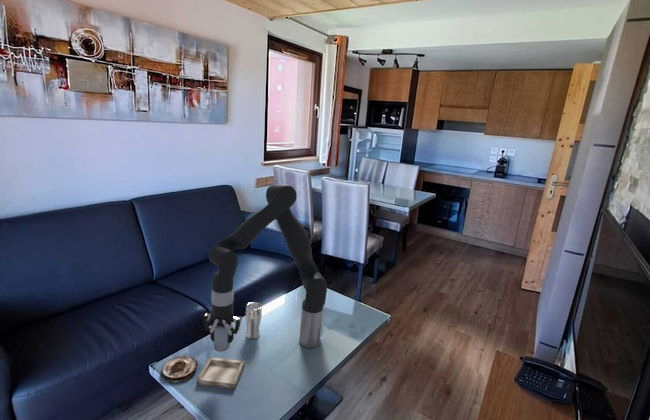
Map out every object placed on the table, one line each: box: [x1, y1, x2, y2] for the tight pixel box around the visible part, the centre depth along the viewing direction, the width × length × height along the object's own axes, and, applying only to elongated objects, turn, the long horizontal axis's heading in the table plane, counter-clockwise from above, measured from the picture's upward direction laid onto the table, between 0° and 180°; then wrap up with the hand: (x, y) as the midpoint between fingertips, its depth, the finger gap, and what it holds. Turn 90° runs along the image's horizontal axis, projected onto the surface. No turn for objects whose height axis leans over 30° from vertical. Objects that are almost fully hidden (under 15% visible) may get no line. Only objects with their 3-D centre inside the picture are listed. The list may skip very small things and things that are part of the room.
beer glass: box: [245, 301, 263, 340], centre depth 150 cm, size 7×7×15 cm
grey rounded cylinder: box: [213, 325, 231, 353], centre depth 122 cm, size 6×6×9 cm
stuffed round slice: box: [161, 355, 198, 382], centre depth 127 cm, size 15×15×4 cm
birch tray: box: [196, 356, 245, 390], centre depth 126 cm, size 14×12×2 cm
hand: (221, 340), depth 123 cm, fingers closed on grey rounded cylinder, 5 cm apart
